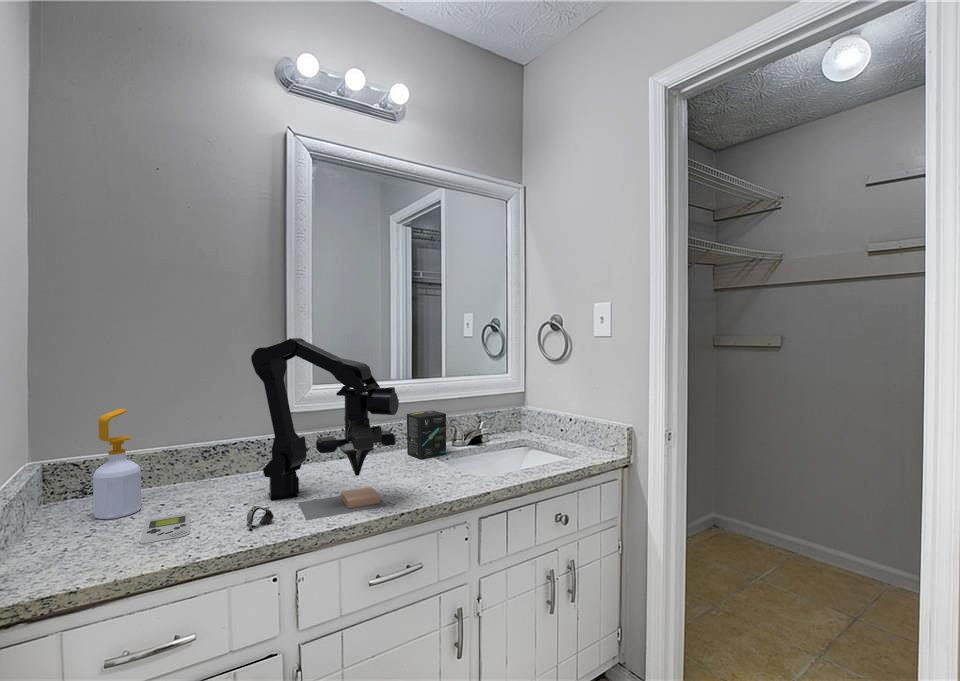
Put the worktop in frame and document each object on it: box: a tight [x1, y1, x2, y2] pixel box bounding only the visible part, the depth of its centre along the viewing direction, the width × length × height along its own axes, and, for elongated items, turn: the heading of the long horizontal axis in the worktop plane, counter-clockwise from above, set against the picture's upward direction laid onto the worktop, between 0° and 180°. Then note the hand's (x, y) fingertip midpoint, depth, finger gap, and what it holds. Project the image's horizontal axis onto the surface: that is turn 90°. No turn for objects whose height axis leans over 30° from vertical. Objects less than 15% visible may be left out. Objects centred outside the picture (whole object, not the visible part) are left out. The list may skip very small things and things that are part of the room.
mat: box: [297, 495, 388, 521], centre depth 121 cm, size 19×13×1 cm
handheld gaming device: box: [139, 512, 192, 545], centre depth 108 cm, size 9×1×15 cm
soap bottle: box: [92, 408, 142, 520], centre depth 116 cm, size 9×9×25 cm
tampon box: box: [406, 409, 447, 460], centre depth 171 cm, size 11×9×15 cm
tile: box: [340, 486, 381, 508], centre depth 123 cm, size 2×8×8 cm
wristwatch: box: [246, 505, 275, 530], centre depth 108 cm, size 3×5×5 cm
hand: (356, 475), depth 123 cm, fingers closed
